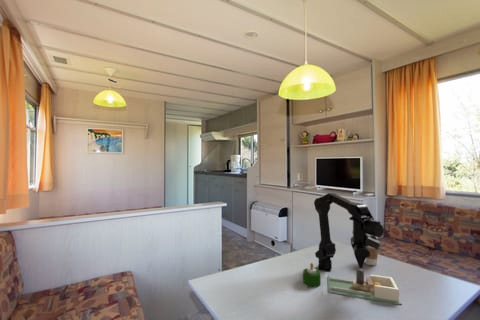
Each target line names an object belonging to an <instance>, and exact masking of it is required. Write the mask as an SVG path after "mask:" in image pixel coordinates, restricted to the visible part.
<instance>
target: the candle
mask: <svg viewBox="0 0 480 320" xmlns="http://www.w3.org/2000/svg"><path fill="white" fill-rule="evenodd" d="M309 265H310V266H309V267H307V268H304V269H303V271H302V272H303V273H302V275H303V276H302V278H303V279H302V282H303V284H304V285H305V286H307V287H309V288H318V287H320V286H321V277H322V275H321V270H319V269H316V268H314V263H313V262H310V264H309Z"/></svg>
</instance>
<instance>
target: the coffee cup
mask: <svg viewBox="0 0 480 320" xmlns="http://www.w3.org/2000/svg"><path fill="white" fill-rule="evenodd" d="M370 236H371V235H368V237H370ZM376 240H378V241H379V239H378V237H376ZM365 247H366V246H365ZM367 248H368V249H369V251H370V256H369V257H367V258H365V261H364V264H366V265H369V266H377V265H378V254H379V249H378V250H377V249H375V248H373V247H371V246H369V245H368V247H367Z"/></svg>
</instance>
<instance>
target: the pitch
mask: <svg viewBox="0 0 480 320" xmlns="http://www.w3.org/2000/svg"><path fill="white" fill-rule="evenodd" d="M369 278H371V280H372V282H373V283H375V282H377V283H379V284H381V286H380V285H374V294H372V293H369V292H368V291H363V290H357V289H354V288H353V280H354V279H352V280H351V279H346V278H339V277H333V276H327V283H328V284H327V286H328V287H327V289H328V290H327V291H328V293H330V294H334V295H335V294H337V295H342V296H348V297H352V298H353V297H354V298H359V299H364V300H365V299H366V300H372V301H375V302H376V301H377V302H383V303H388V304H393V305H394V304H395V305H400V306H402V302H401V300H400V289H399V288H398V286H397V284H396V282H395V281H394V279H393V277H392V276H384V275H383V276H382V275H377V274H370V275H369Z"/></svg>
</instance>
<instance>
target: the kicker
mask: <svg viewBox="0 0 480 320" xmlns="http://www.w3.org/2000/svg"><path fill="white" fill-rule="evenodd" d="M355 272H356V273H355V274H356V276H355V277H356V279H352V280H353V288H354V289H357V290H363V291H368V292H369V293H372V294H374V285H373V282H372V280H371V278H370V276H369V277H368V276H366V277H365V271H364V269H363V268H356V271H355Z"/></svg>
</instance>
